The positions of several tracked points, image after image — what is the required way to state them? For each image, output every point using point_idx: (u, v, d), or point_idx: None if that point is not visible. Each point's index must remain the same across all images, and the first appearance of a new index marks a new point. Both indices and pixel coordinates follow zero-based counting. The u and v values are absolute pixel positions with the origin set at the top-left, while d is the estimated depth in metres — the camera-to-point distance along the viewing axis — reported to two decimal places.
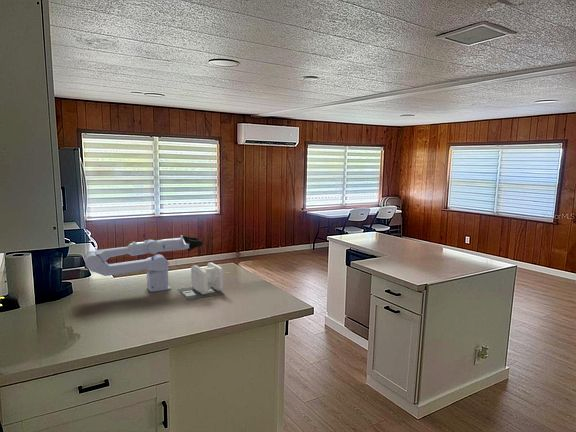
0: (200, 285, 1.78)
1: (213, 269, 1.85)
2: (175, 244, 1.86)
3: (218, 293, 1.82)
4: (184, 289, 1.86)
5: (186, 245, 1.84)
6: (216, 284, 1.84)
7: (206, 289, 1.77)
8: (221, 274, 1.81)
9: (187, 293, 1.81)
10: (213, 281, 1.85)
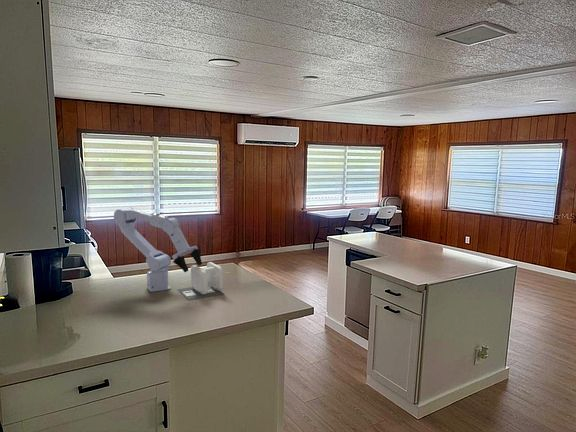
0: (200, 285, 1.78)
1: (212, 269, 1.84)
2: (177, 245, 1.79)
3: (218, 293, 1.82)
4: (184, 289, 1.86)
5: (174, 256, 1.75)
6: (216, 284, 1.84)
7: (206, 289, 1.77)
8: (221, 274, 1.81)
9: (187, 293, 1.81)
10: (213, 281, 1.85)
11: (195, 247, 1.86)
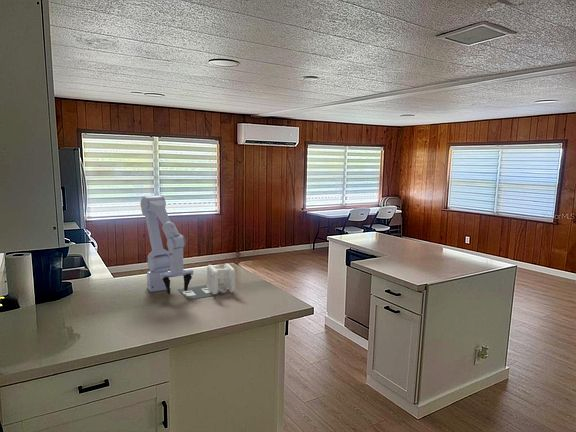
0: (211, 285, 1.78)
1: (227, 270, 1.84)
2: (170, 265, 1.74)
3: (218, 293, 1.82)
4: None
5: (160, 276, 1.72)
6: (229, 285, 1.83)
7: (216, 289, 1.76)
8: (233, 276, 1.80)
9: (187, 293, 1.81)
10: (226, 282, 1.84)
11: (191, 272, 1.79)
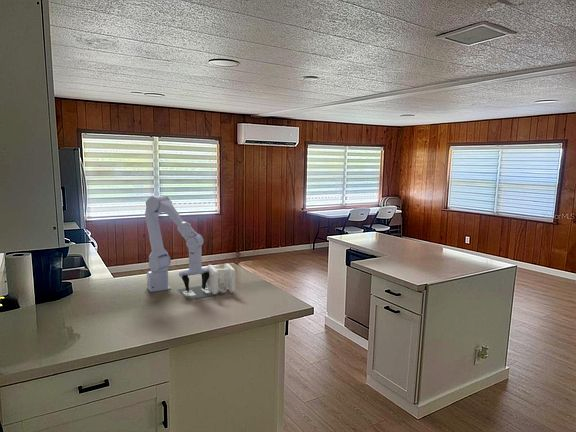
0: (211, 285, 1.78)
1: (227, 270, 1.84)
2: (189, 264, 1.79)
3: (218, 293, 1.82)
4: (184, 289, 1.86)
5: (180, 274, 1.77)
6: (229, 285, 1.83)
7: (216, 289, 1.76)
8: (233, 276, 1.80)
9: (187, 293, 1.81)
10: (226, 282, 1.84)
11: None
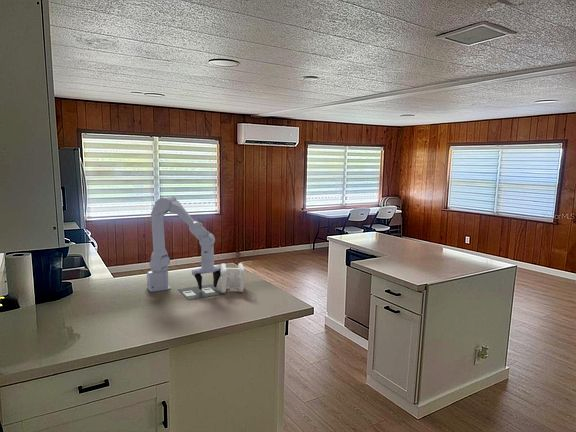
0: (221, 283, 1.81)
1: (238, 270, 1.85)
2: (202, 262, 1.82)
3: (218, 293, 1.82)
4: (184, 289, 1.86)
5: (192, 272, 1.80)
6: (239, 285, 1.84)
7: (224, 288, 1.78)
8: (242, 276, 1.80)
9: (187, 293, 1.81)
10: (237, 282, 1.85)
11: (220, 269, 1.87)
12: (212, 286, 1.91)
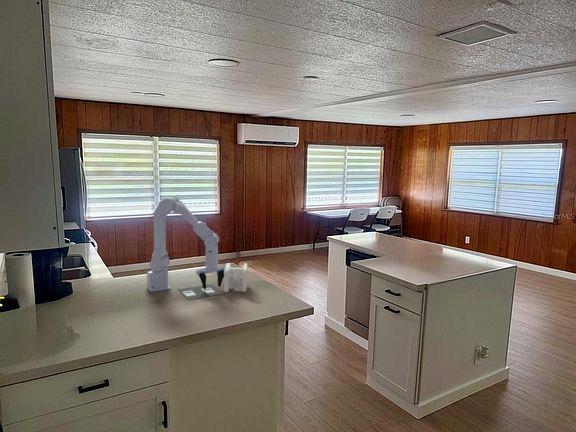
0: None
1: (241, 270, 1.85)
2: (206, 262, 1.83)
3: (218, 293, 1.82)
4: (184, 289, 1.86)
5: (197, 272, 1.81)
6: None
7: (226, 287, 1.79)
8: (244, 276, 1.80)
9: (187, 293, 1.81)
10: (241, 282, 1.86)
11: None
12: (212, 286, 1.91)
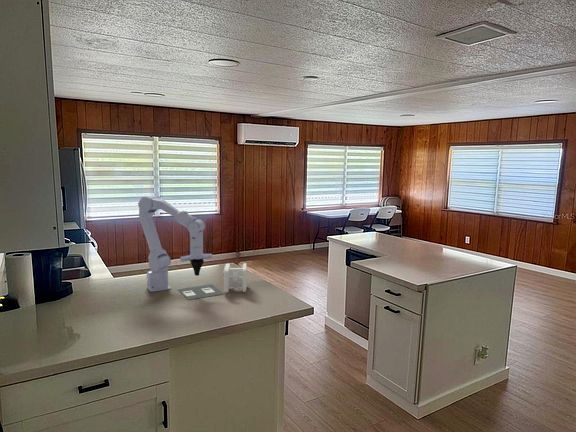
0: None
1: (241, 270, 1.85)
2: (191, 249, 1.78)
3: (218, 293, 1.82)
4: (184, 289, 1.86)
5: (181, 259, 1.76)
6: None
7: (226, 288, 1.79)
8: (244, 276, 1.80)
9: (187, 293, 1.81)
10: (241, 282, 1.86)
11: (210, 256, 1.83)
12: (212, 286, 1.91)
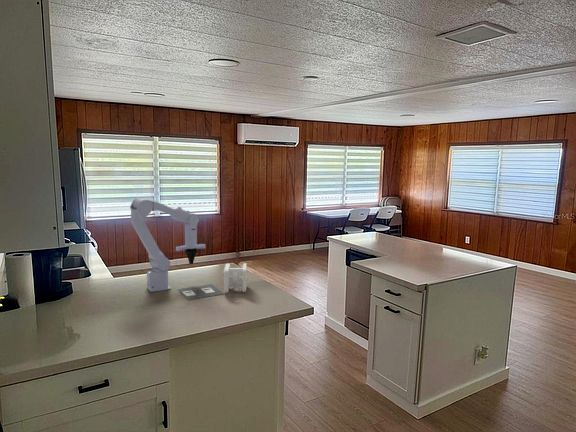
0: None
1: (241, 270, 1.85)
2: (185, 239, 1.94)
3: (218, 293, 1.82)
4: (184, 289, 1.86)
5: (176, 248, 1.92)
6: None
7: (226, 288, 1.79)
8: (244, 276, 1.80)
9: (187, 293, 1.81)
10: (241, 282, 1.86)
11: (203, 246, 1.99)
12: (212, 286, 1.91)
